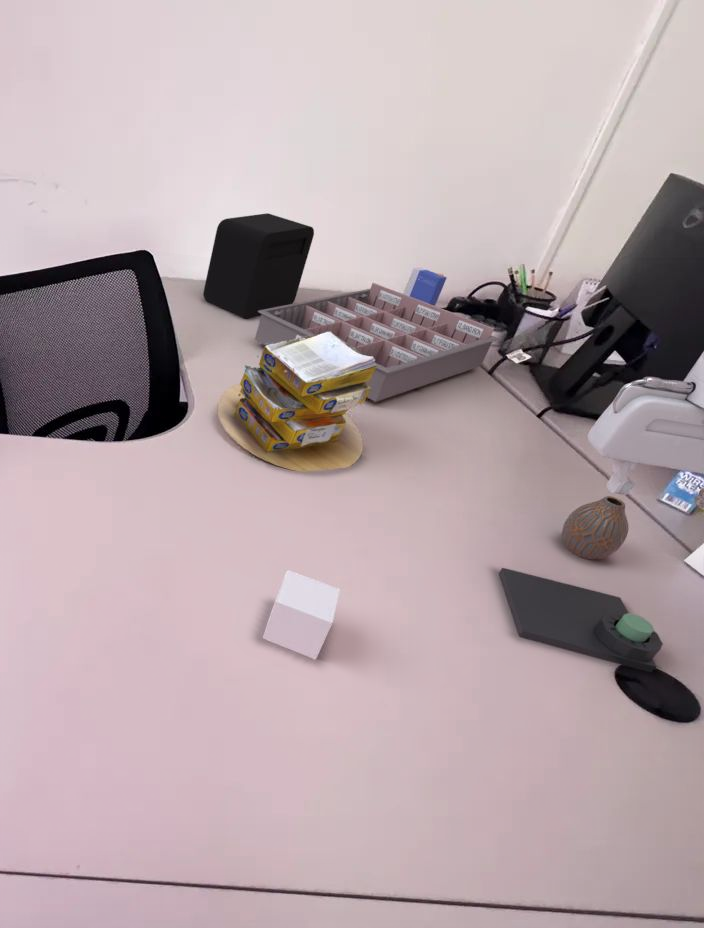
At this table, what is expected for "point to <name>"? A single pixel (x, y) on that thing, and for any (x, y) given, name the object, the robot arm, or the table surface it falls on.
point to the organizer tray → (386, 335)
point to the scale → (574, 620)
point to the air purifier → (256, 263)
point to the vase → (596, 528)
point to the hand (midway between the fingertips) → (659, 498)
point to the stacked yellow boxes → (300, 404)
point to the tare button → (634, 627)
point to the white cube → (302, 614)
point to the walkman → (425, 285)
